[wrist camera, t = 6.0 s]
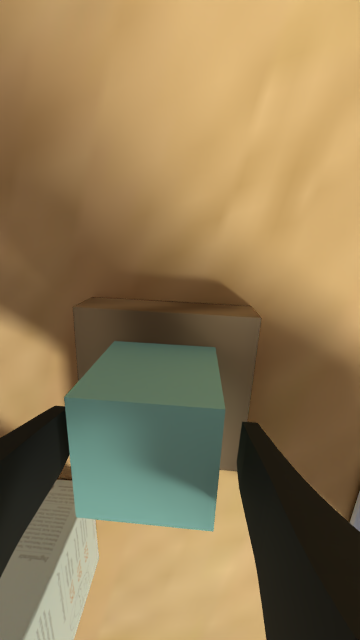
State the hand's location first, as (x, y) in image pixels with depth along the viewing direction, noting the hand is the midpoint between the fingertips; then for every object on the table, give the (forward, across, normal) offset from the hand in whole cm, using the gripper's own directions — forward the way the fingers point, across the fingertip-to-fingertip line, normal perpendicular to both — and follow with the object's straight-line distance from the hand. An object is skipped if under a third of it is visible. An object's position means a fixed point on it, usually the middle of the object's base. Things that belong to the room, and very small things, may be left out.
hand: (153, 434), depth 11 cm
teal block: (+3, 0, 0) cm, 3 cm away
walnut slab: (+6, 0, 0) cm, 6 cm away
